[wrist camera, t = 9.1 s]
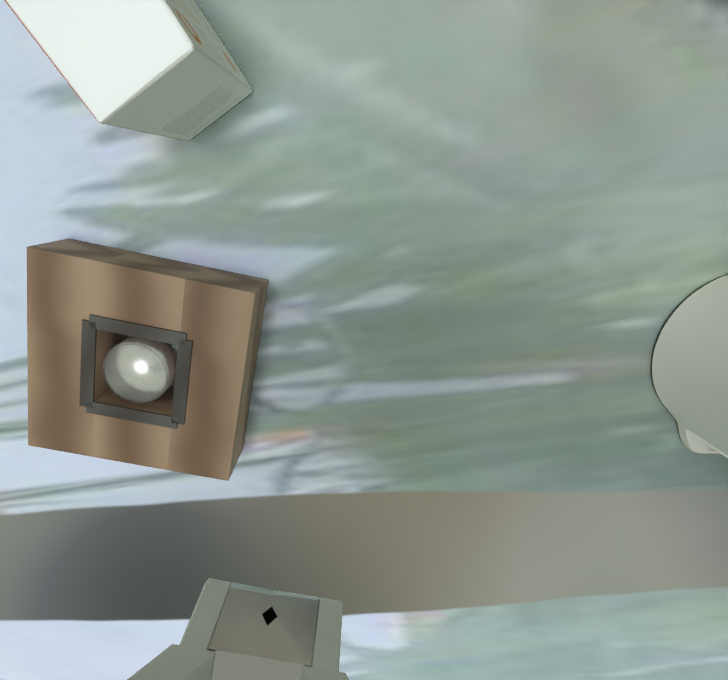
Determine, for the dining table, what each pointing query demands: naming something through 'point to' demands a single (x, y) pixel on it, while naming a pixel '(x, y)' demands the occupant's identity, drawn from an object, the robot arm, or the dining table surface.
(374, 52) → the dining table surface
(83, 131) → the dining table surface
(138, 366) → the peg
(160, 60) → the small box
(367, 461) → the dining table surface
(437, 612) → the dining table surface
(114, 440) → the socket block
